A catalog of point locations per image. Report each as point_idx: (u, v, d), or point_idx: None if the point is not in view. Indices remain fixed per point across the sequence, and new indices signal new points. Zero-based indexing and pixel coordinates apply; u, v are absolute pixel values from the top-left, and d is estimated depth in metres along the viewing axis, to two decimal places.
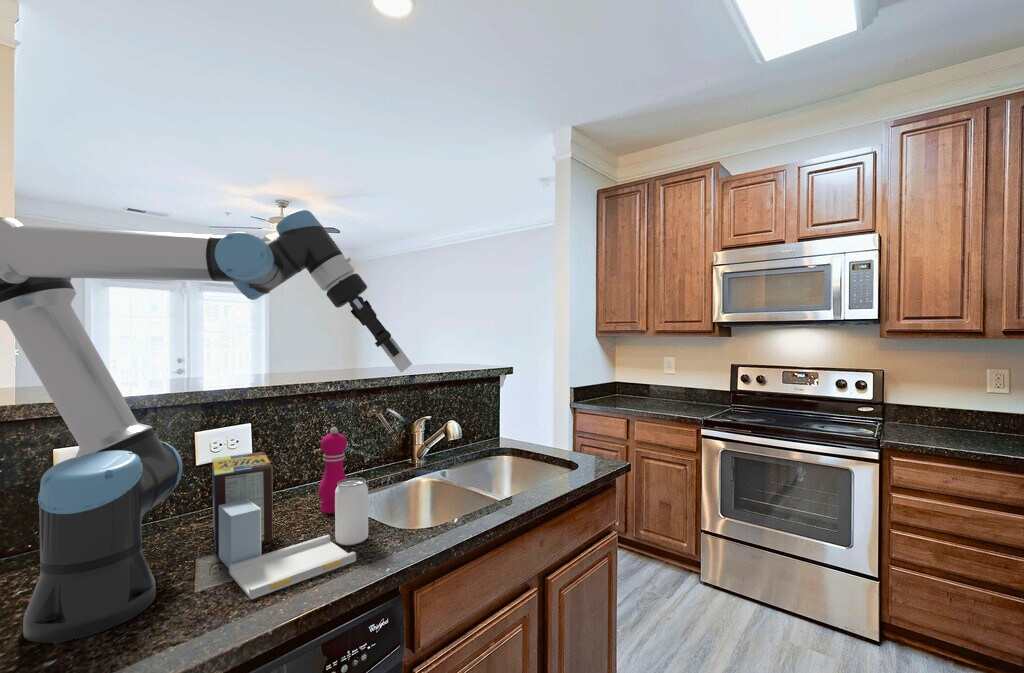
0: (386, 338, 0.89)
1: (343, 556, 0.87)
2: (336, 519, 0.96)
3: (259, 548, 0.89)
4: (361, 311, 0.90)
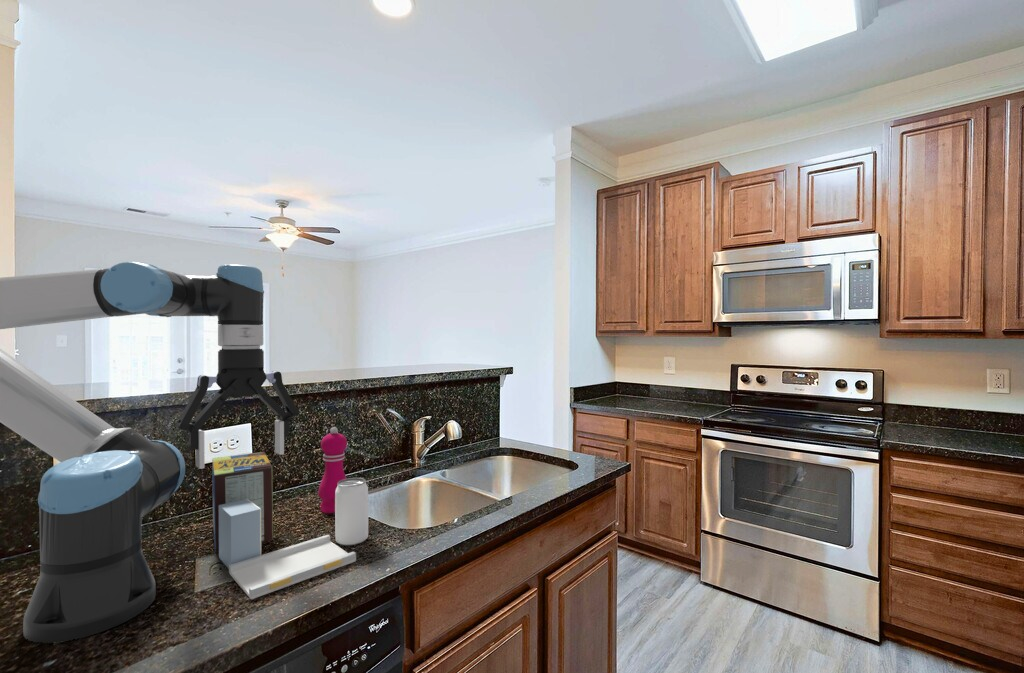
0: None
1: (343, 556, 0.87)
2: (336, 519, 0.96)
3: (259, 548, 0.89)
4: (196, 390, 0.85)
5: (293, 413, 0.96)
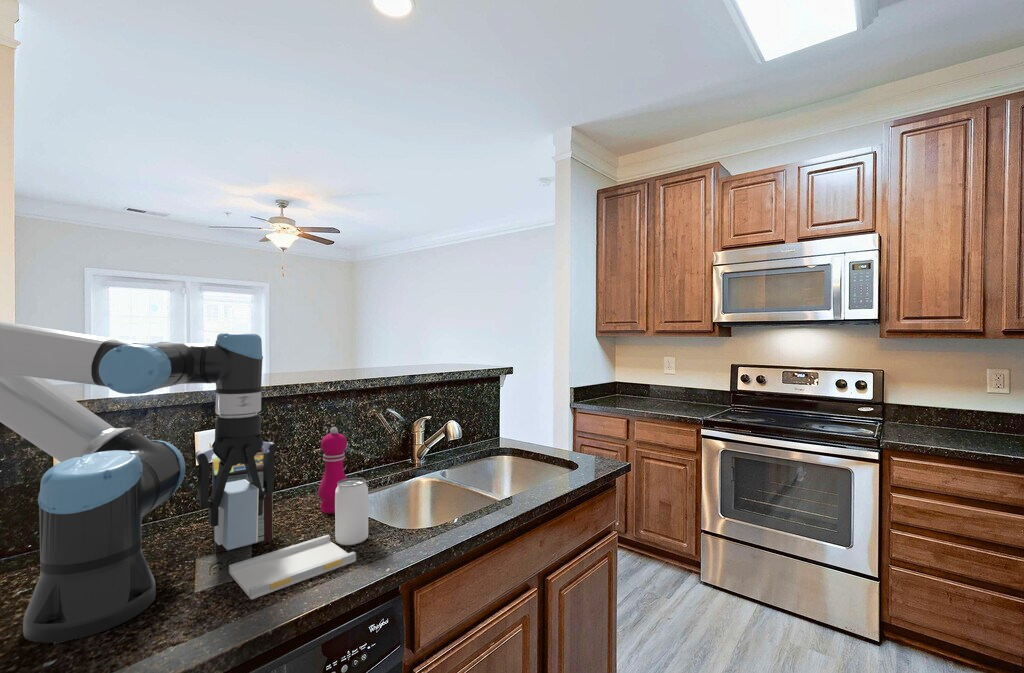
0: None
1: (343, 556, 0.87)
2: (336, 519, 0.96)
3: (255, 528, 0.88)
4: (199, 467, 0.86)
5: (268, 491, 0.93)
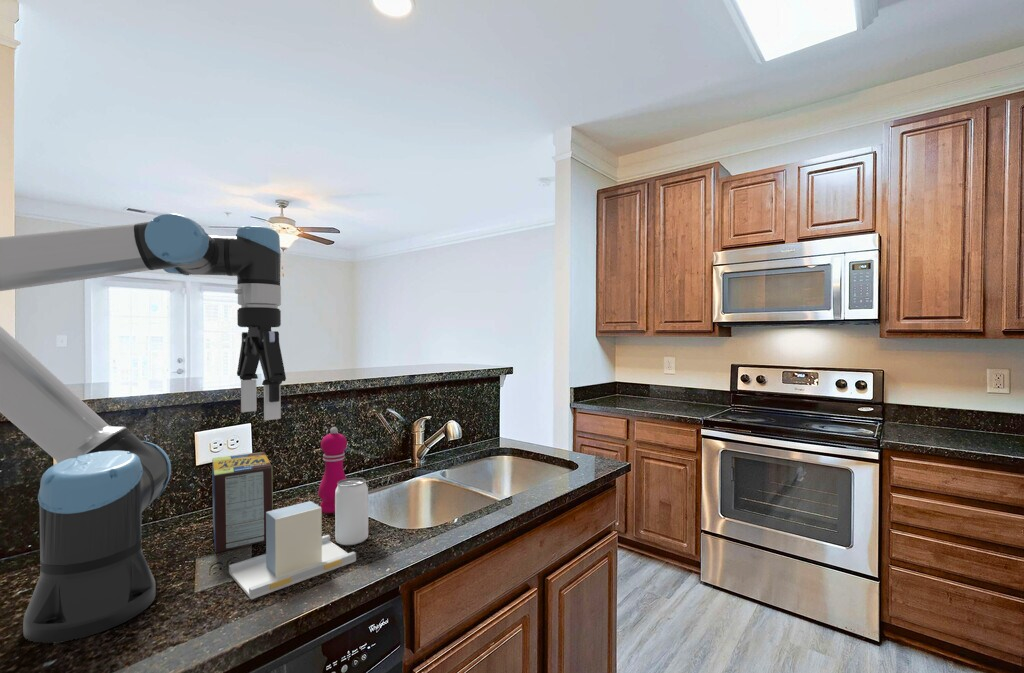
0: None
1: (343, 556, 0.87)
2: (336, 519, 0.96)
3: (275, 561, 0.82)
4: None
5: None
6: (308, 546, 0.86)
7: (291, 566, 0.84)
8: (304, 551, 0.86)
